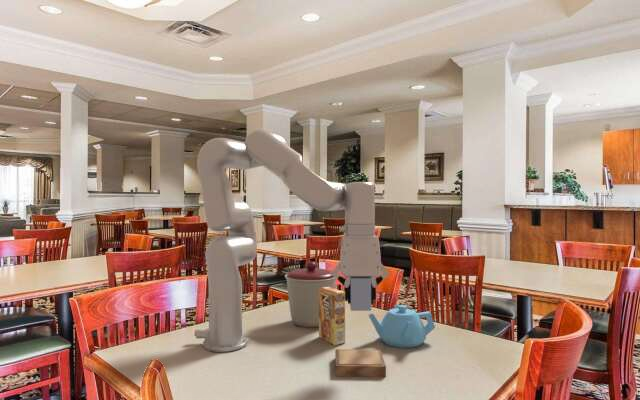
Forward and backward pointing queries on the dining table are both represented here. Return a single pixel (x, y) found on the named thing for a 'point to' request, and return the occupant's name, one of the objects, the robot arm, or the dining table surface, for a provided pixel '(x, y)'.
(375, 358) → the plinth
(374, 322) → the teapot
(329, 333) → the candy box
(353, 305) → the block
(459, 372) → the dining table surface
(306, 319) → the canister
